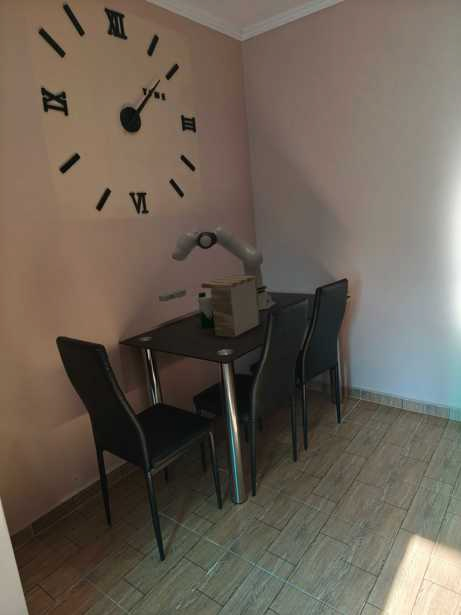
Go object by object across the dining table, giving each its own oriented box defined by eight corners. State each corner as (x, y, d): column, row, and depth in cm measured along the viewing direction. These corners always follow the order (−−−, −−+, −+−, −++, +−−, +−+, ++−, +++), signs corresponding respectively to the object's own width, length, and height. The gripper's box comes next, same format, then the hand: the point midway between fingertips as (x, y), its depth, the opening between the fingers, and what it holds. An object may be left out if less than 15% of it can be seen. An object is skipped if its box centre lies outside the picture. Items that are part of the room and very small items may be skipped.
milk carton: (203, 324, 243) (200, 291, 239) (218, 323, 241) (215, 290, 237) (200, 328, 235) (195, 294, 231) (215, 328, 233) (211, 294, 229)
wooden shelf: (234, 321, 243) (230, 275, 237) (260, 323, 232) (256, 275, 226) (207, 334, 223) (201, 284, 216) (233, 337, 212) (228, 285, 206)
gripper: (152, 293, 245) (168, 294, 237) (175, 286, 261) (191, 287, 253) (153, 303, 246) (169, 304, 238) (177, 296, 262) (193, 297, 254)
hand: (181, 295), depth 246 cm, fingers closed
